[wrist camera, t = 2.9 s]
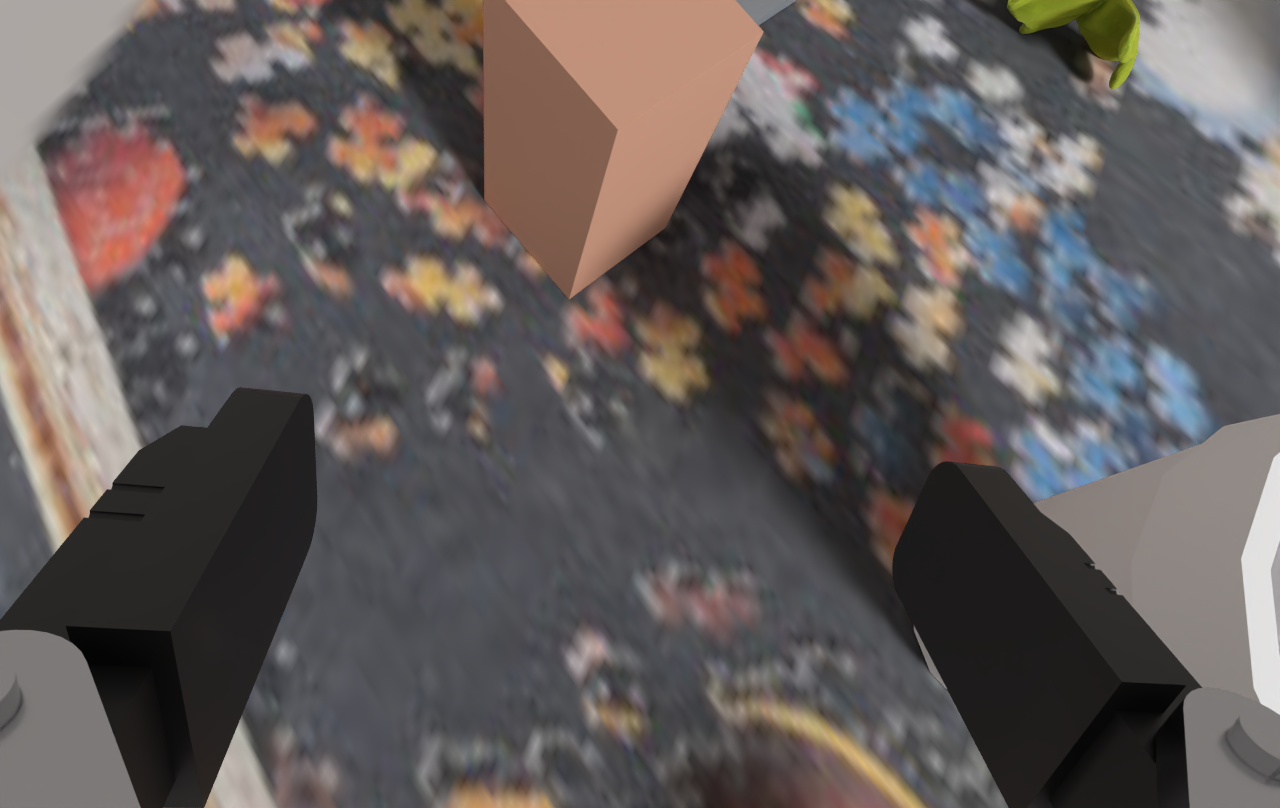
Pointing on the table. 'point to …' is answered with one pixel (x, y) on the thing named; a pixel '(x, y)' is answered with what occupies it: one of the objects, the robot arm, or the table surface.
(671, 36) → the tall block
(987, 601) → the robot arm
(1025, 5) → the bird rattle
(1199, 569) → the foam cup
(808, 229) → the table surface
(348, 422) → the table surface
